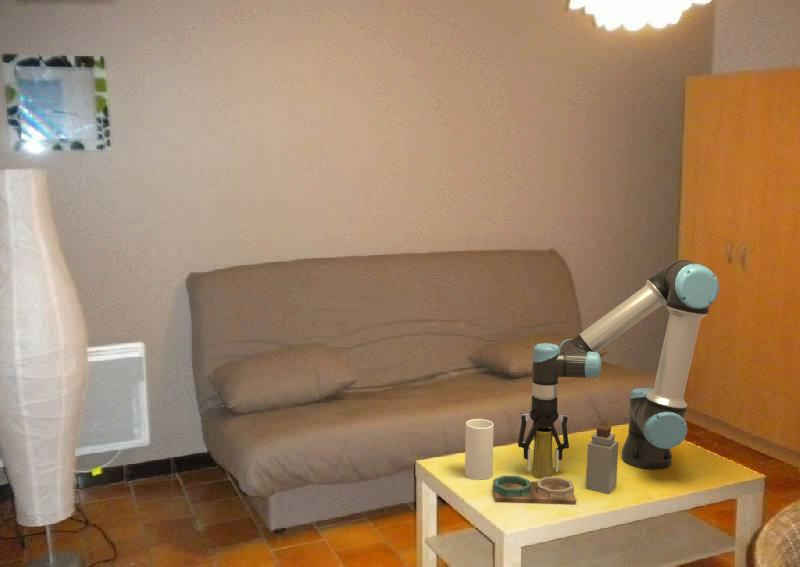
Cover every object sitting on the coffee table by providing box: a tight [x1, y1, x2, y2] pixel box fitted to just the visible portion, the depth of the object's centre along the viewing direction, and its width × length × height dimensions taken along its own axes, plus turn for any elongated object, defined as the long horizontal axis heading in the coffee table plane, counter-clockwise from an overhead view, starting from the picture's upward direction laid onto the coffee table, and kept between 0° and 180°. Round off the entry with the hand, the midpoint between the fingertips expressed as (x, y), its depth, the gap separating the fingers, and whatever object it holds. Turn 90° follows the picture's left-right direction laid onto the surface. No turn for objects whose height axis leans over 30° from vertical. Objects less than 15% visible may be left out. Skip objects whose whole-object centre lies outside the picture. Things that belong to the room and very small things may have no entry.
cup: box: [464, 418, 494, 481], centre depth 235 cm, size 8×8×16 cm
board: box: [492, 475, 577, 505], centre depth 222 cm, size 22×12×3 cm, turn 86°
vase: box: [531, 427, 554, 479], centre depth 235 cm, size 6×6×14 cm
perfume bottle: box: [585, 424, 619, 495], centre depth 226 cm, size 7×7×18 cm
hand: (542, 469), depth 236 cm, fingers open, 8 cm apart
